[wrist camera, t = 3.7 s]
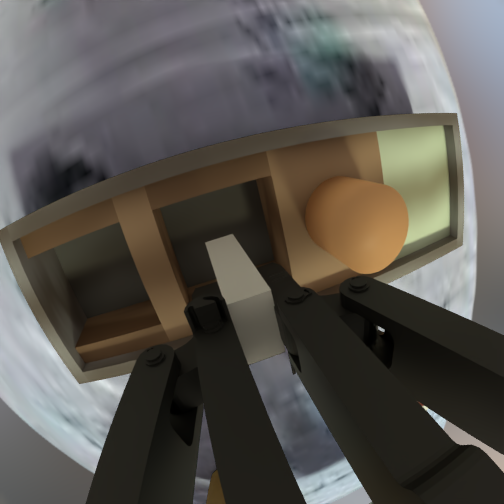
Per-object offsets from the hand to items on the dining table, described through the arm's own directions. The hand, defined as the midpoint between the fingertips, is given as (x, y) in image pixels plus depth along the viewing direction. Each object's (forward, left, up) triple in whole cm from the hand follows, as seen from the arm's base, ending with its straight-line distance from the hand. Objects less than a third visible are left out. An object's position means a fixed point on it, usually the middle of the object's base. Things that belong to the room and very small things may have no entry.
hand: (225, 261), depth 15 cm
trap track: (0, -4, -6) cm, 7 cm away
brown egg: (0, -8, -2) cm, 8 cm away
